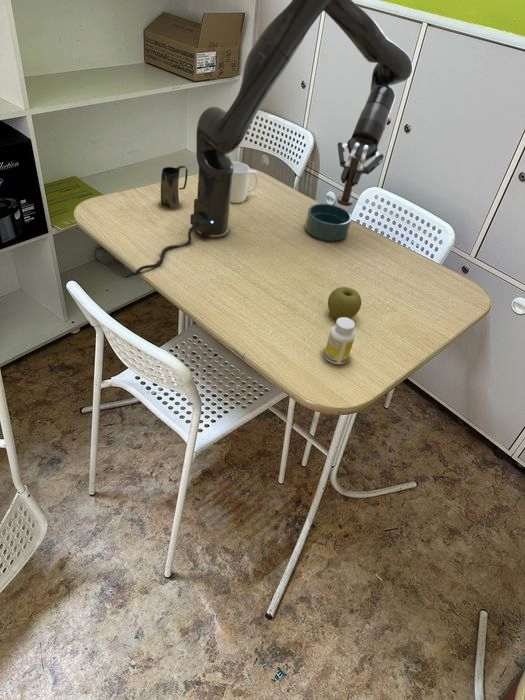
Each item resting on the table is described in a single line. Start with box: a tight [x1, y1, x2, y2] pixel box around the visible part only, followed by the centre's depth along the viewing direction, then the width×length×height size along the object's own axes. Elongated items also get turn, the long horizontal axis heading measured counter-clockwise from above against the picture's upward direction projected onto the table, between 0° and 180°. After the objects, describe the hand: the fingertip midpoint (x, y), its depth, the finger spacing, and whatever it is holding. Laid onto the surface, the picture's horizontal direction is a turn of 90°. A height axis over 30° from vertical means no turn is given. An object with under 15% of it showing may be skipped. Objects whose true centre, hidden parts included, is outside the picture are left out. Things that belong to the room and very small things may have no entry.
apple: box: [327, 286, 362, 320], centre depth 126 cm, size 8×8×7 cm
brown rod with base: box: [336, 155, 360, 207], centre depth 142 cm, size 4×4×13 cm
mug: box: [160, 165, 189, 211], centre depth 156 cm, size 8×6×12 cm
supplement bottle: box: [324, 317, 356, 365], centre depth 113 cm, size 5×5×10 cm
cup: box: [230, 161, 259, 204], centre depth 167 cm, size 8×12×10 cm
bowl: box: [304, 203, 352, 242], centre depth 158 cm, size 13×13×6 cm
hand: (348, 183), depth 140 cm, fingers closed on brown rod with base, 2 cm apart
